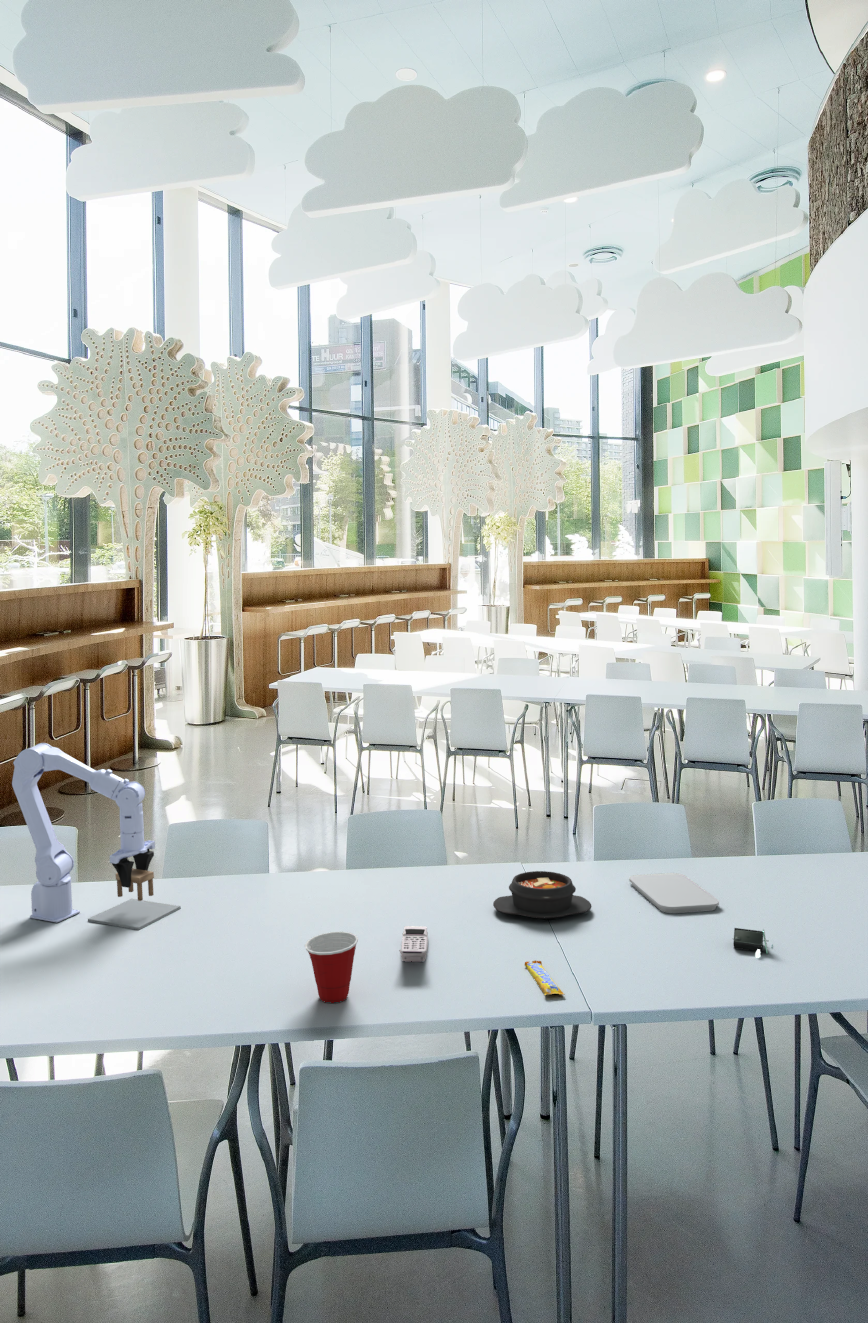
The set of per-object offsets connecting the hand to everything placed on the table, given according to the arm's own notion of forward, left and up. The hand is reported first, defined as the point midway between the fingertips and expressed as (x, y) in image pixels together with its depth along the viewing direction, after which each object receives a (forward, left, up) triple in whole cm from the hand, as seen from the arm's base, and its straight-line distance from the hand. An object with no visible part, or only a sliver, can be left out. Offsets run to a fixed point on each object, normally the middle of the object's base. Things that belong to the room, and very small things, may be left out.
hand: (134, 883), depth 235 cm
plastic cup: (+70, -23, -8) cm, 74 cm away
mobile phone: (+76, +4, -9) cm, 77 cm away
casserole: (+96, +40, -8) cm, 104 cm away
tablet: (+125, +64, -9) cm, 141 cm away
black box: (+146, +35, -9) cm, 151 cm away
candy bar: (+108, 0, -9) cm, 108 cm away
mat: (0, 0, -8) cm, 8 cm away
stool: (0, 0, -3) cm, 3 cm away
